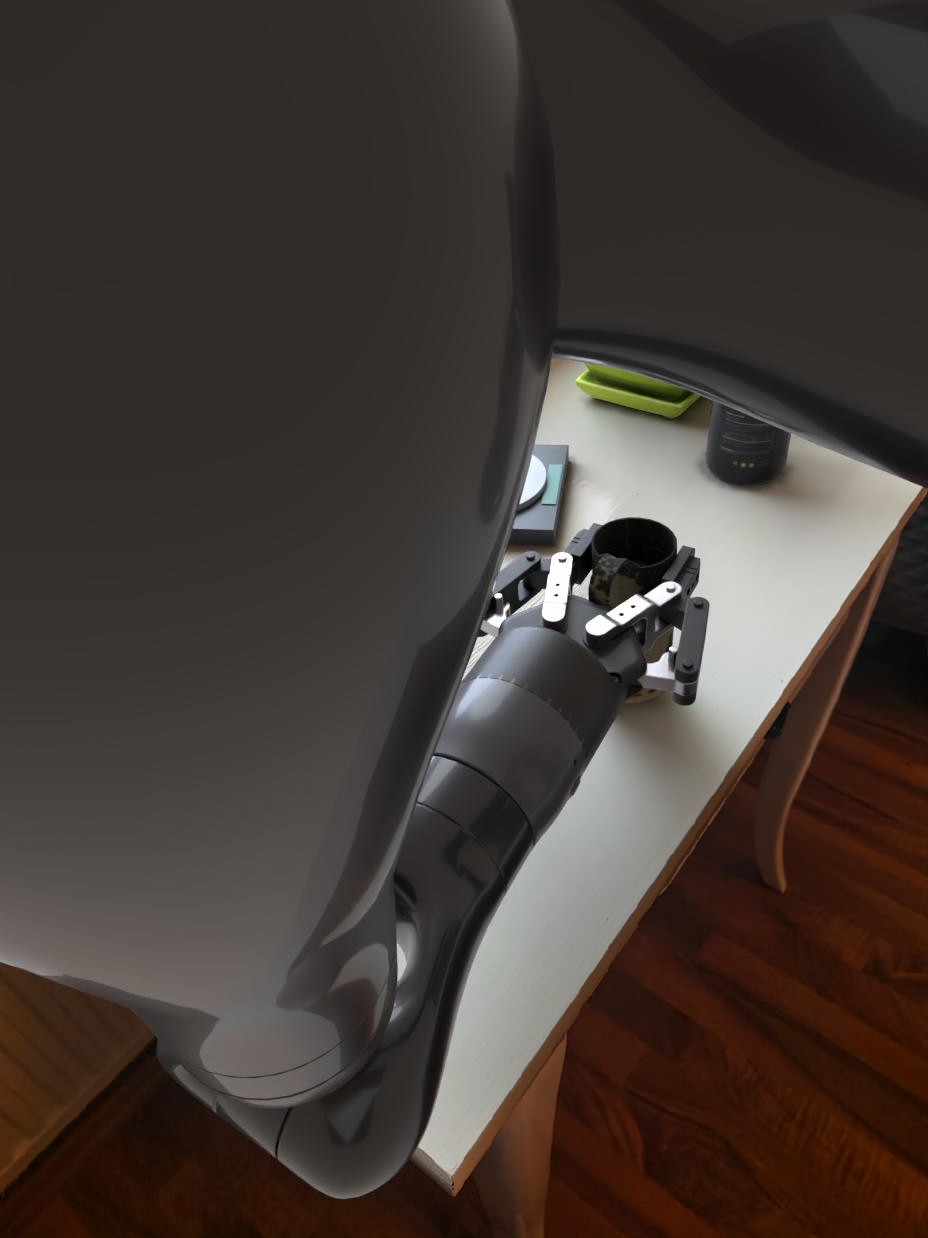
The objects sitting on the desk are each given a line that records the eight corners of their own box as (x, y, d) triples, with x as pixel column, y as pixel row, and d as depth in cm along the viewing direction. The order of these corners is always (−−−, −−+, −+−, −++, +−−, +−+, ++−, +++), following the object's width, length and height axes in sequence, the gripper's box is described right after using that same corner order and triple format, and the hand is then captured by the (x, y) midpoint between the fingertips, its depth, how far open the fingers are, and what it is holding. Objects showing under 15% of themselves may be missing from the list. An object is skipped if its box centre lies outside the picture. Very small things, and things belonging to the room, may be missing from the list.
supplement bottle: (709, 442, 80) (723, 316, 72) (787, 449, 78) (810, 319, 70) (699, 483, 75) (713, 353, 67) (782, 491, 73) (807, 358, 65)
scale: (568, 459, 80) (568, 438, 78) (554, 546, 70) (553, 524, 69) (432, 457, 82) (429, 436, 81) (400, 540, 73) (396, 518, 71)
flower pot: (628, 348, 95) (632, 228, 87) (749, 374, 88) (767, 247, 80) (559, 403, 87) (557, 278, 79) (686, 437, 81) (699, 304, 72)
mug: (607, 633, 61) (611, 491, 53) (683, 657, 59) (698, 512, 51) (557, 709, 56) (553, 565, 48) (637, 738, 54) (646, 591, 46)
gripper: (656, 739, 37) (770, 523, 47) (381, 642, 43) (536, 470, 53) (647, 840, 42) (752, 624, 52) (402, 740, 48) (540, 565, 58)
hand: (642, 547), depth 53 cm, fingers closed on mug, 5 cm apart
